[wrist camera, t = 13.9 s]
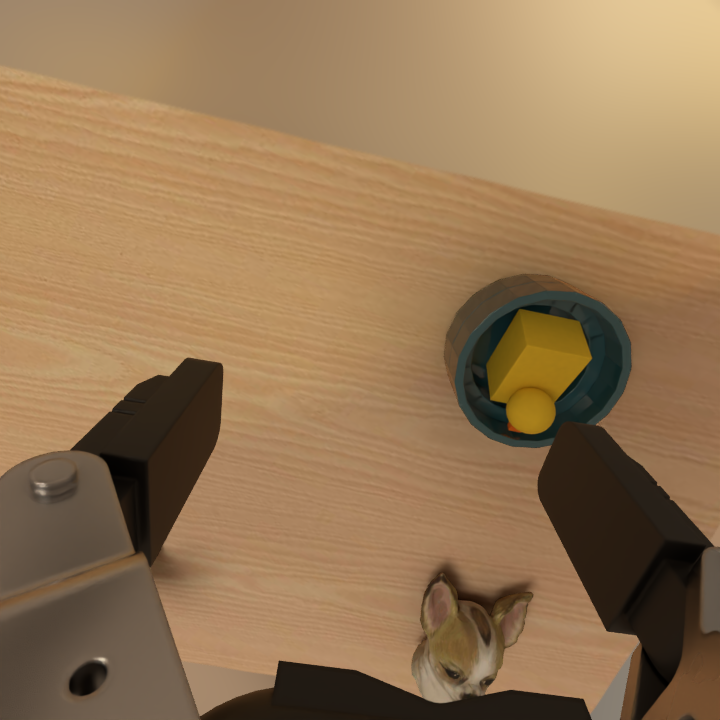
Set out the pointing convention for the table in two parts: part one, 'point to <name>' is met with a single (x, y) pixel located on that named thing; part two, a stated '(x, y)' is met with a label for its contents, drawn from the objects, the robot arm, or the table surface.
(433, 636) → the ceramic sculpture
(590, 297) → the bowl
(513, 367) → the duck
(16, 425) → the table surface
